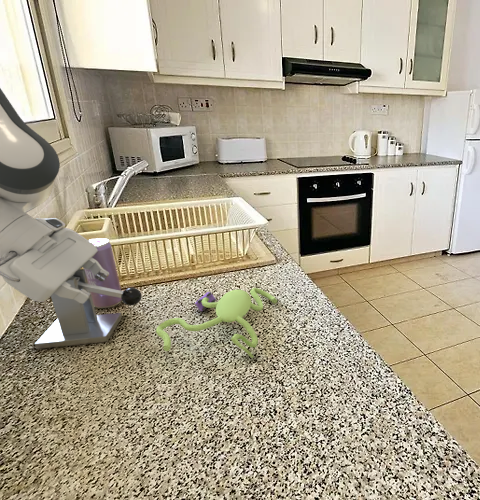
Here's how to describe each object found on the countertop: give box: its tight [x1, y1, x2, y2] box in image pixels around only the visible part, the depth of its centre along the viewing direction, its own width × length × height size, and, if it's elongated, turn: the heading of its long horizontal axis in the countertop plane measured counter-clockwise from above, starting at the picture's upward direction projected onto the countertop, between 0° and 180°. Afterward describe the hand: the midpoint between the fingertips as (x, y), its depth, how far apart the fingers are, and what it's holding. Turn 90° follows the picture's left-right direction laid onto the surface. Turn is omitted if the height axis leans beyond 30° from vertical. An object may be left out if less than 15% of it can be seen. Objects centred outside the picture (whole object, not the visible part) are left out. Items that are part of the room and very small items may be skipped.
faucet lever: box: [71, 276, 142, 306], centre depth 73 cm, size 14×4×4 cm, turn 104°
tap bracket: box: [34, 268, 123, 350], centre depth 73 cm, size 12×9×13 cm
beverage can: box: [83, 237, 122, 309], centre depth 84 cm, size 6×6×15 cm
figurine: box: [155, 287, 278, 359], centre depth 78 cm, size 18×27×6 cm
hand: (97, 287), depth 73 cm, fingers open, 8 cm apart
